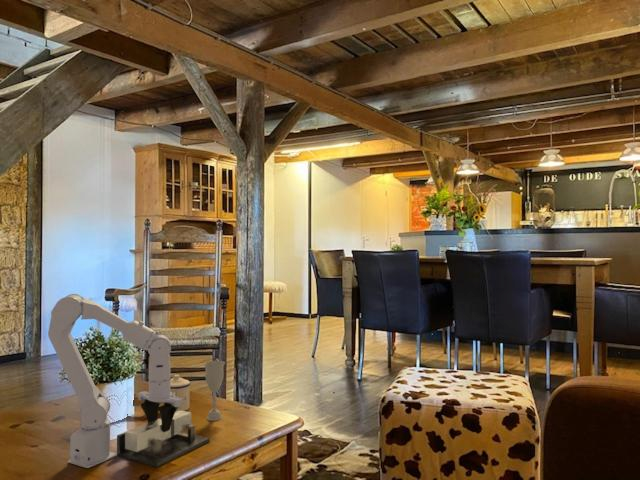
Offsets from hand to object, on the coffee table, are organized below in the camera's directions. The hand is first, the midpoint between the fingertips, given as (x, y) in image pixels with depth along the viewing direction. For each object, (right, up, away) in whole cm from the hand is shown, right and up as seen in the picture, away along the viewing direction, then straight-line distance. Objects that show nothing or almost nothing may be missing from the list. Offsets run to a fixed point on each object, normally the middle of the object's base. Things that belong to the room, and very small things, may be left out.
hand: (159, 429), depth 145 cm
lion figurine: (-17, -7, +32) cm, 37 cm away
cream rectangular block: (0, -2, 0) cm, 2 cm away
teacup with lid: (-6, -7, +37) cm, 38 cm away
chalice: (+9, -7, +28) cm, 31 cm away
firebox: (+1, -6, +2) cm, 7 cm away
